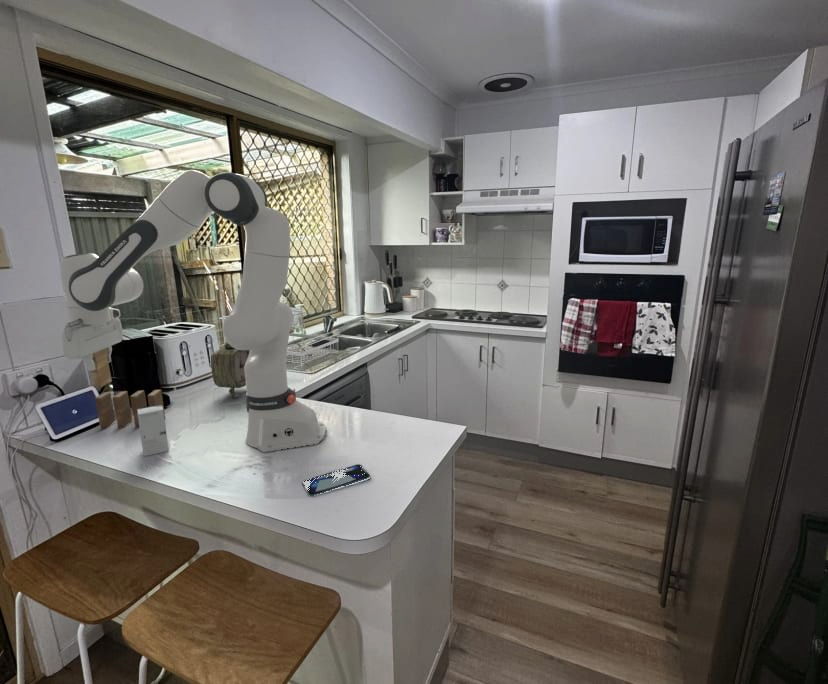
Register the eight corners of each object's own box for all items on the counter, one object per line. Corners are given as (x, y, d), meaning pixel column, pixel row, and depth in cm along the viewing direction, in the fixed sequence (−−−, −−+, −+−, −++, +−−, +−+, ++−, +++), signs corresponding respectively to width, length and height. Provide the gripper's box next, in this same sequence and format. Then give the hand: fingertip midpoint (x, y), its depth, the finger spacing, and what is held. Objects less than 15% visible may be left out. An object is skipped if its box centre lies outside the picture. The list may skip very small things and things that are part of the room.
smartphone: (300, 480, 101) (360, 463, 108) (301, 484, 102) (360, 466, 109) (309, 496, 95) (371, 476, 102) (309, 500, 95) (371, 480, 102)
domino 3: (149, 419, 138) (144, 390, 136) (141, 426, 133) (136, 396, 131) (143, 420, 138) (138, 390, 135) (135, 426, 133) (129, 396, 131)
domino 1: (115, 421, 137) (110, 392, 134) (106, 428, 132) (101, 397, 130) (109, 421, 137) (104, 392, 134) (100, 428, 132) (94, 398, 129)
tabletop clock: (236, 400, 153) (228, 332, 147) (213, 399, 155) (204, 331, 149) (257, 387, 167) (250, 324, 161) (236, 386, 169) (228, 323, 163)
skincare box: (143, 457, 114) (136, 414, 111) (143, 450, 118) (135, 409, 115) (170, 450, 117) (163, 409, 115) (168, 444, 121) (162, 404, 118)
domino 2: (132, 420, 137) (127, 391, 135) (124, 427, 133) (118, 396, 130) (126, 421, 137) (121, 391, 135) (118, 427, 132) (112, 397, 130)
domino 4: (165, 418, 139) (160, 389, 136) (158, 425, 134) (153, 395, 131) (159, 419, 138) (154, 389, 136) (152, 425, 134) (147, 395, 131)
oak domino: (111, 381, 120) (105, 346, 118) (101, 387, 115) (94, 351, 113) (104, 381, 120) (98, 346, 118) (94, 387, 115) (86, 351, 113)
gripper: (77, 323, 104) (88, 377, 107) (123, 309, 123) (131, 356, 127) (49, 324, 103) (61, 378, 106) (99, 310, 123) (108, 356, 126)
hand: (99, 366), depth 117 cm, fingers closed on oak domino, 5 cm apart
